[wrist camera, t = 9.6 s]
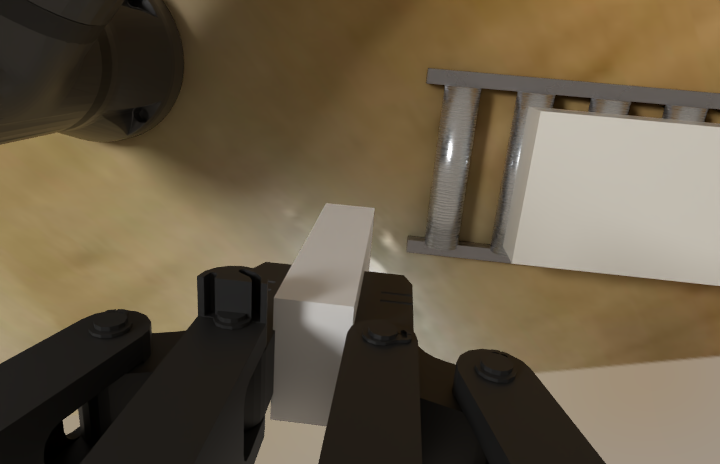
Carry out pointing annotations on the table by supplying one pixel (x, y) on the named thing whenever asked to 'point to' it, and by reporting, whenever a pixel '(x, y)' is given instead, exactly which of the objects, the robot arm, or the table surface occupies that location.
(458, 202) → the roller bed
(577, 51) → the table surface
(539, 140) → the slab
